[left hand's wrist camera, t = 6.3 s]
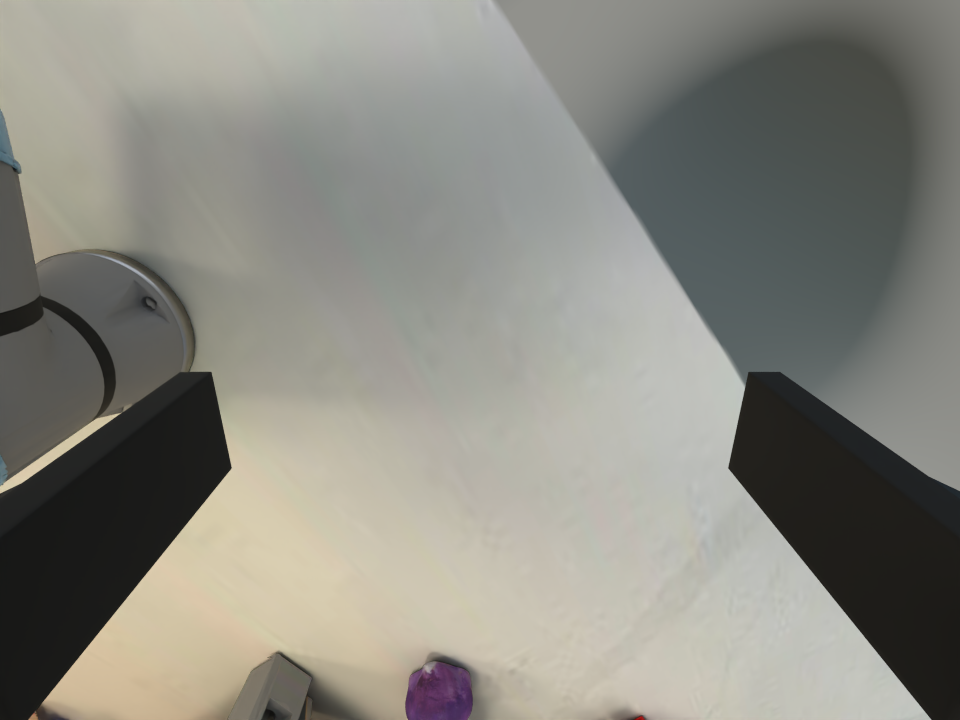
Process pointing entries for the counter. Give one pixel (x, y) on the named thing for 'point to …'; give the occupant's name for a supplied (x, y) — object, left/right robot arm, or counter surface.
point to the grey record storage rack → (274, 693)
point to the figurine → (439, 693)
